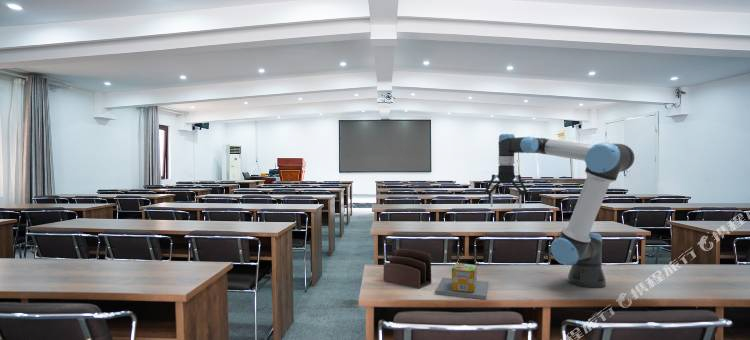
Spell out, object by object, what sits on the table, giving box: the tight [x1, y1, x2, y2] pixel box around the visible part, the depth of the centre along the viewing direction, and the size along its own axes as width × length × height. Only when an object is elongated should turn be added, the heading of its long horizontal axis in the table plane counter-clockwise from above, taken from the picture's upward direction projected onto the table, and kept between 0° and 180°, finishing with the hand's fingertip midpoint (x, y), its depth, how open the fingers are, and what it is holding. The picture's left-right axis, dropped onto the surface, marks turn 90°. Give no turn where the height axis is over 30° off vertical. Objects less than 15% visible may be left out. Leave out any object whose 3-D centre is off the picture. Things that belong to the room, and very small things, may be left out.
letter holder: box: [382, 248, 432, 290], centre depth 182 cm, size 10×20×14 cm, turn 51°
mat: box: [434, 277, 489, 300], centre depth 171 cm, size 20×20×2 cm
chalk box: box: [451, 262, 478, 293], centre depth 170 cm, size 9×9×15 cm
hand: (505, 207), depth 201 cm, fingers open, 13 cm apart
